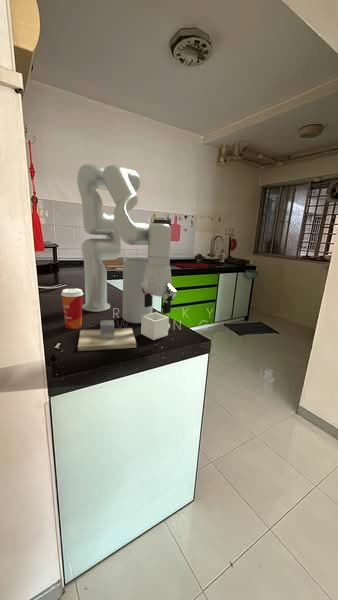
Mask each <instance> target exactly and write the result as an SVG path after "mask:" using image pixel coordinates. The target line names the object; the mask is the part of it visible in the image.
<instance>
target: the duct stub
mask: <svg viewBox="0 0 338 600" xmlns="http://www.w3.org/2000/svg"><path fill="white" fill-rule="evenodd" d="M99 329H101V339H114V329H115V321H114V319H109V320H107V319H106V320H103V319H102V320H100V328H99Z"/></svg>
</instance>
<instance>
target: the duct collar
mask: <svg viewBox="0 0 338 600" xmlns="http://www.w3.org/2000/svg"><path fill="white" fill-rule="evenodd" d="M140 324H141V328H140V335H143V336H145V337H146V338H149V339H150V340H153V341H155V340H157V339H161V338H164V337H167V336H168V335H169V329H171V325H170V317H169V316H167V315H165V314H163V313H159V312H157V311H155V312H152V313H151V314H147V315H143V316H142V323H140Z"/></svg>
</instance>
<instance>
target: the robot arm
mask: <svg viewBox="0 0 338 600" xmlns="http://www.w3.org/2000/svg"><path fill="white" fill-rule="evenodd" d="M76 182H77V183H76V184H77V188H78V192H79V195H80V200H81V208H82V209H81V210H82V222H83V224H82V225H83V229H84V231H85V233H86V234H88V235H91V236H105V238H101V237H100V238H98V237H97V238H96V237H95V238H87V239H85V240H84V241H83V242H82V244H81V246H80V247H81V253H82V260H83V265H84V266H83V267H84V291H85V292H84V293H85V303H82V310H84V311H87V312H93V313H94V312H95V313H96V312H99V313H100V312H104V311H107V310H108V311H109V310H110V309H111V304H110V303H108V289H107V288H108V287H107V286H108V279H107V278H108V275H107V274H108V273H107V272H108V271H107V267H106V266H105V264H104V263H103V261H109V260H111V261H112V260H116V259H118V258H119V257H120V255H121V251H122V241H123V242H124V243H125V244H126V245H130V246H147V258H146V259H148V262H147V265H146V268H145V273H144V282H142V283H141V286H142V291H143V293H144V294H143V295H144V296H145V302H144V307H150V306H152V295H153V296H154V297H155V296H156V297H162V300H163V303H162V315H166V314H169V313H171V307H172V302H173V301H174V299H175V298H176V295H177V293H178V291H177V290H176V289H175V288H174V287H173V286H172V271H171V270H172V269H171V266H170V265H171V264H170V262H171V260H170V259H171V238H172V237H171V235H172V229H171V228H172V227H171V226H170V225H169V224H167V223H155V222H154V223H151V222H142V221H141V222H139V221H132V219H131V217H130V216H129V214H128V213H127V212H129V211H131V210H133V209H134V208H135V207H136V206H137V204H138V202H139V197H138V194H137V192H138V191H139V189H140V185H141V179H140V175H139V174H138V172H136V171H135V170H134V169H132V168H127V167H124V166H121V165H118V164H111V165H110V164H109V165H107V166H106V167H105V166H103V165H99V164H93V163H85V164H82V165H81V166H80V167H79V169H78V171H77V179H76ZM98 190H105V191H108V193H109V194H110V196H111V199H113V202H114V204H115V207H114V211H113V213H109V212H108V213H107V212H104V204H103V199H102V197H101V195H100V193H99V192H98ZM121 240H122V241H121ZM151 294H152V295H151Z"/></svg>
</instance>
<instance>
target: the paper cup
mask: <svg viewBox="0 0 338 600" xmlns="http://www.w3.org/2000/svg"><path fill="white" fill-rule="evenodd" d="M60 295H61V299H62V306H63V315H64V323H65V327H66V328H67V329H69V330H76V329H79V328H82V326H83V325H82V323H83V321H82V320H83V308H82V305H83V297H84V296H83V295H84V292H83V290H82V289H81V288H76V287H75V288H64V289H62V292H61V293H60Z"/></svg>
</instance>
